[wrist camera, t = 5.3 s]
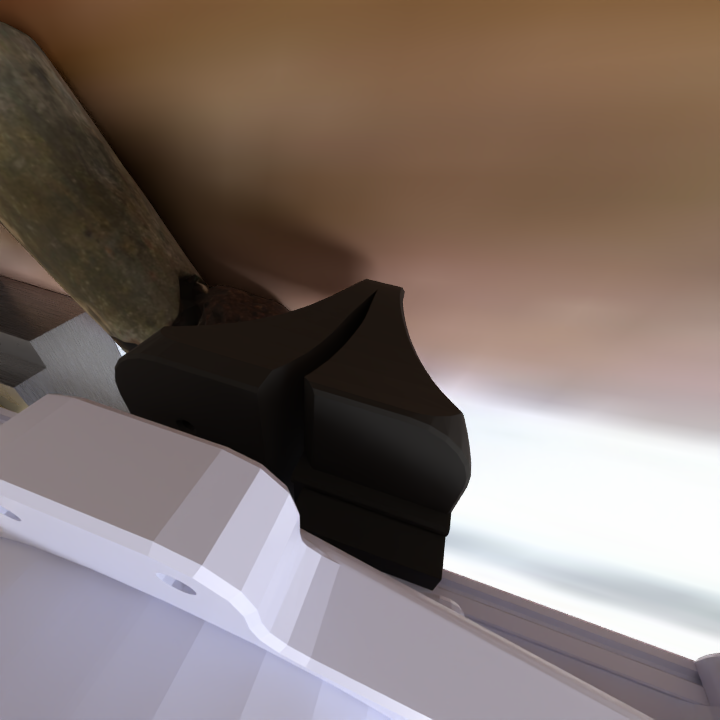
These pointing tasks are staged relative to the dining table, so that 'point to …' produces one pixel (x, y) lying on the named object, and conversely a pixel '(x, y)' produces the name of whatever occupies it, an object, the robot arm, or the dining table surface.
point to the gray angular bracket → (52, 349)
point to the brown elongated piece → (94, 212)
